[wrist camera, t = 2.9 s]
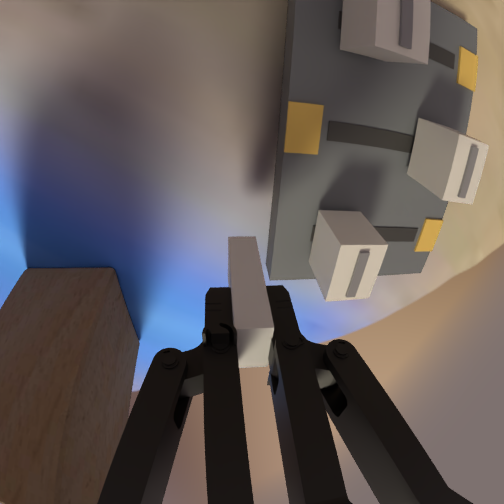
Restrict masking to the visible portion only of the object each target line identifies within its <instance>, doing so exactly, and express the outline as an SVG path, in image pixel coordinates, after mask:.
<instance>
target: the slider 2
mask: <svg viewBox="0 0 504 504" xmlns="http://www.w3.org/2000/svg"><path fill="white" fill-rule="evenodd" d="M387 247H388V244H387V243H386V241H385V240H384V239H383V238H382V236H381V235H380V234H379V233H378V232H377V230H376V229H375V228H374V227H373V226H372V224H371V223H370V222H369V221H368V220H367V219H366V217H365V216H364V215H363V214H362V213H361V212H358V211H333V210H319V211H318V216H317V222H316V227H315V233H314V238H313V243H312V248H311V253H310V258H309V263H310V266H311V268H312V270H313V273H314V275H315V278H316V280H317V282H318V285H319V287H320V290H321V292H322V294H323V297H324V299H325V302H326V301H340V300H352V299H364V298H369V296H370V293H371V291H372V288H373V286H374V283H375V281H376V278H377V275H378V273H379V270H380V267H381V264H382V262H383V259H384V256H385V253H386V250H387Z"/></svg>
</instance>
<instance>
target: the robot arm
mask: <svg viewBox="0 0 504 504" xmlns="http://www.w3.org/2000/svg"><path fill="white" fill-rule="evenodd" d="M228 284H229V287H219V288H210V289H209V290H208V292H207V293H206V297H205V327H204V328H203V332H202V338H203V342H202V343H201V344H200V345H199V346H198V347H196V348H194V349H192V350H189V351H185V352H181V351H180V350H178V349H175V348H166V349H162V350H161V351H159V352H158V353H157V354H156V355H155V356H154V358H153V360H152V363H151V365H150V367H149V370H148V372H147V374H146V377H145V379H144V382H143V384H142V386H141V389H140V391H139V394H138V396H137V398H136V401H135V404H134V406H133V408H132V411H131V413H130V416H129V418H128V421H127V423H126V426H125V429H124V431H123V434H122V436H121V439H120V441H119V444H118V447H117V449H116V452H115V455H114V457H113V460H112V463H111V466H110V468H109V471H108V474H107V477H106V480H105V483H104V485H103V488H102V491H101V494H100V497H99V500H98V503H97V504H162V501H163V497H164V494H165V491H166V487H167V483H168V480H169V476H170V473H171V469H172V465H173V462H174V459H175V455H176V452H177V449H178V445H179V441H180V438H181V434H182V431H183V428H184V424H185V421H186V418H187V414H188V411H189V407H190V404H191V401H192V397H193V396H195V395H198V394H201V393H204V434H205V460H206V480H207V496H208V504H254V501H253V493H252V485H251V478H250V469H249V460H248V451H247V442H246V433H245V424H244V414H243V405H242V394H241V384H240V374H239V368H247V367H264V366H268V361H269V366H270V372H269V377H268V384H267V385H270V386H271V392H272V399H273V405H274V412H275V418H276V424H277V430H278V436H279V442H280V449H281V455H282V461H283V467H284V474H285V480H286V486H287V492H288V498H289V504H352V503H351V502H350V501H349V499H348V497H347V493H346V489H345V485H344V481H343V476H342V472H341V468H340V464H339V460H338V456H337V452H336V448H335V444H334V440H333V436H332V432H331V428H330V424H329V421H328V417H327V413H328V414H329V416H330V418H331V420H332V422H333V423H334V425H335V426H336V429H337V430H338V432H339V434H340V436H341V437H342V439H343V441H344V443H345V444H346V446H347V448H348V450H349V451H350V453H351V455H352V457H353V458H354V460H355V462H356V464H357V465H358V467H359V469H360V471H361V472H362V474H363V475H364V477H365V479H366V481H367V483H368V484H369V486H370V488H371V490H372V491H373V493H374V495H375V496H376V498H377V500H378V502H379V503H380V504H473V503H471V502H470V501H468V500H467V499H465V498H464V497H462V496H460V495H459V494H457V493H456V492H454V491H453V490H451V489H450V488H449V487H448V486H447V484H446V483H445V481H444V480H443V478H442V476H441V475H440V474H439V472H438V470H437V469H436V467H435V465H434V464H433V463H432V461H431V459H430V458H429V456H428V455H427V453H426V452H425V450H424V448H423V447H422V445H421V444H420V442H419V441H418V439H417V438H416V436H415V435H414V433H413V432H412V430H411V429H410V427H409V426H408V424H407V423H406V421H405V420H404V418H403V417H402V416H401V414H400V412H399V411H398V409H397V408H396V406H395V405H394V403H393V402H392V401H391V399H390V398H389V396H388V395H387V393H386V392H385V390H384V389H383V387H382V386H381V384H380V383H379V382H378V380H377V379H376V377H375V376H374V374H373V373H372V372H371V370H370V369H369V367H368V366H367V364H366V363H365V361H364V360H363V359H362V357H361V356H360V354H359V353H358V352H357V350H356V349H355V347H354V346H353V345H352V344H351V343H349V342H348V341H345V340H341V339H337V340H333V341H331V342H329V344H328V345H322V344H317V343H313V342H310V341H308V340H307V339H305V337H304V336H303V335H302V334H301V333H300V330H299V327H298V323H297V320H296V316H295V313H294V309H293V306H292V302H291V299H290V295H289V292H288V291H287V290H286V289H285V288H284V286H283V285H278V286H266V285H265V280H264V275H263V270H262V265H261V261H260V256H259V251H258V246H257V241H256V237H228ZM326 411H327V413H326Z"/></svg>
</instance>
